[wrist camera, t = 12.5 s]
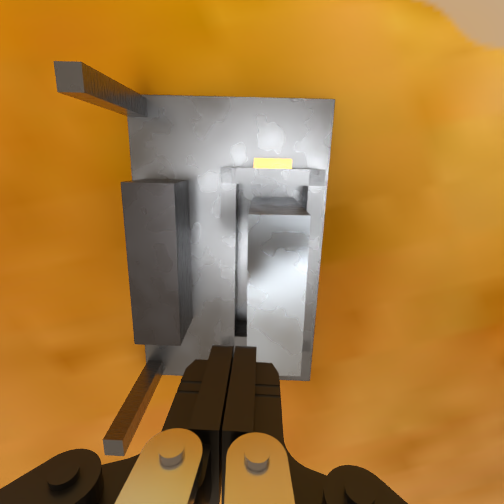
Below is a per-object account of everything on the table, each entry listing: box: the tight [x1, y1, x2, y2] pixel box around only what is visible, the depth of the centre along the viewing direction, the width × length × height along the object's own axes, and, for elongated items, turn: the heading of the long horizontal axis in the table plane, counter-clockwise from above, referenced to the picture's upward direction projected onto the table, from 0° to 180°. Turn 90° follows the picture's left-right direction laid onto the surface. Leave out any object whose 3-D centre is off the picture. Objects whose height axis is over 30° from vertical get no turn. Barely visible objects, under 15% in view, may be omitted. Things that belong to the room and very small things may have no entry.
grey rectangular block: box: [247, 197, 311, 376], centre depth 20 cm, size 3×9×8 cm, turn 179°
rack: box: [54, 61, 335, 456], centre depth 21 cm, size 14×22×9 cm, turn 179°
